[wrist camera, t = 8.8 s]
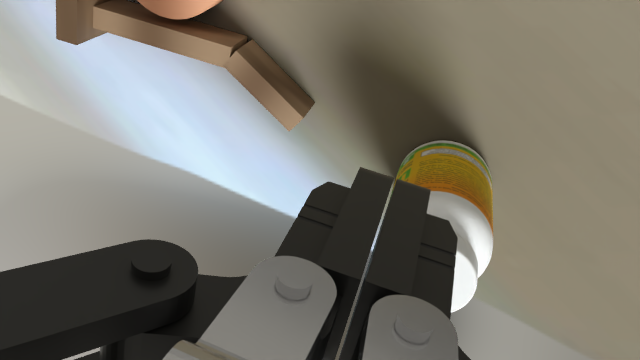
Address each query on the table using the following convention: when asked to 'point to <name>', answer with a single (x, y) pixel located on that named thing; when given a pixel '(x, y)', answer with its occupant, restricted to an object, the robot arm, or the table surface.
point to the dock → (188, 48)
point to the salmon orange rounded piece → (178, 7)
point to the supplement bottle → (457, 205)
